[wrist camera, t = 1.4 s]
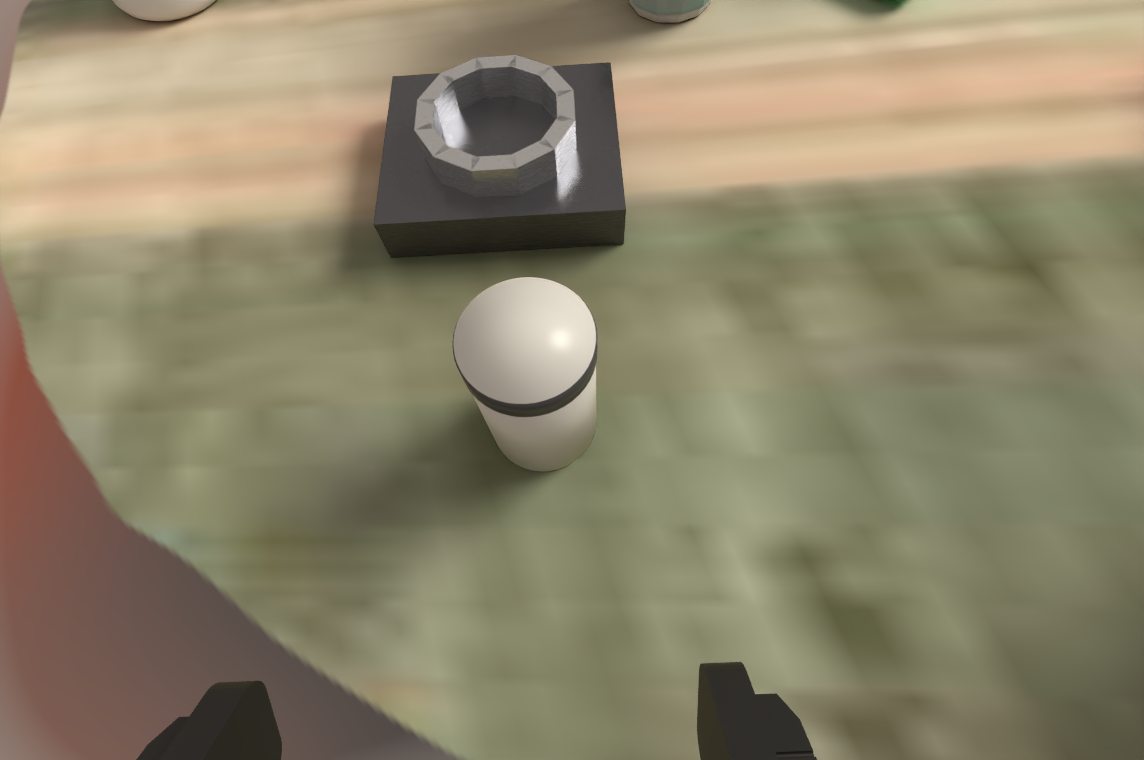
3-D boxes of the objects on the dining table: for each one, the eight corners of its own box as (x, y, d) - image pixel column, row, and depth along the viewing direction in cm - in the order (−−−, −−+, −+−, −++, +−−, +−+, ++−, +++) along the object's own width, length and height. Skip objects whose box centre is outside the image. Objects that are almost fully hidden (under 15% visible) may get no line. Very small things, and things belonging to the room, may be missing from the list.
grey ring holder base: (609, 102, 39) (611, 32, 35) (623, 244, 34) (627, 183, 30) (406, 115, 40) (382, 47, 35) (391, 257, 35) (360, 199, 30)
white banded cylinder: (593, 370, 31) (592, 272, 23) (600, 469, 29) (601, 400, 20) (492, 375, 31) (455, 280, 23) (490, 475, 29) (448, 408, 21)
